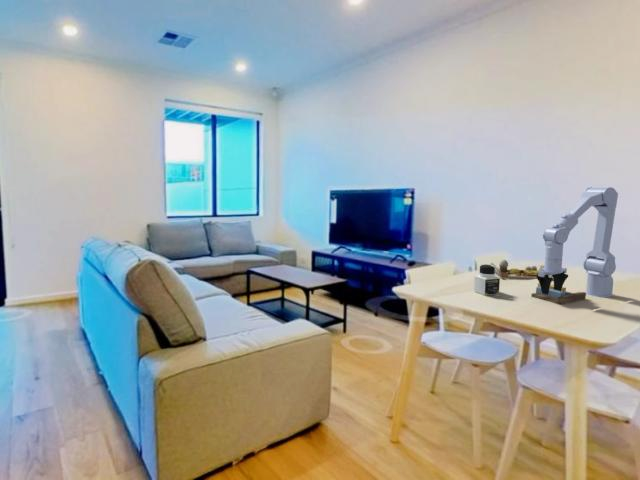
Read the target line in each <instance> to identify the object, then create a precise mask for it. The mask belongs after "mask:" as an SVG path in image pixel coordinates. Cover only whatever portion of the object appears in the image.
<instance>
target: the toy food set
mask: <svg viewBox="0 0 640 480" xmlns="http://www.w3.org/2000/svg"><path fill="white" fill-rule="evenodd" d="M490 265H493V266H495V274H497V275H498V276H499V278H501V279H503V280H515V281H516V280H518V281H532V280H538V279H537V275H538V272H539V271H541V270H542V268H545V265H543V264H542V265H540V266H539V269H538V268H537V266H536V265H532V266H526V267H525V269H518V268H510V269H508V267H509V263H508V260H506V259H502V260H500V263H499V267H498V266H497V265H496V264H495V263H493V262H490ZM548 277H550V278H553V276H552V275H549V276H548Z"/></svg>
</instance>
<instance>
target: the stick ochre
mask: <svg viewBox="0 0 640 480" xmlns="http://www.w3.org/2000/svg"><path fill="white" fill-rule="evenodd" d="M537 287H541V286H540V283H539V282H538V283H537ZM549 289H554V284H552V283H551V284H550V288H549ZM561 291H562V292H567V287H565V286H562V289H561Z"/></svg>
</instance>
